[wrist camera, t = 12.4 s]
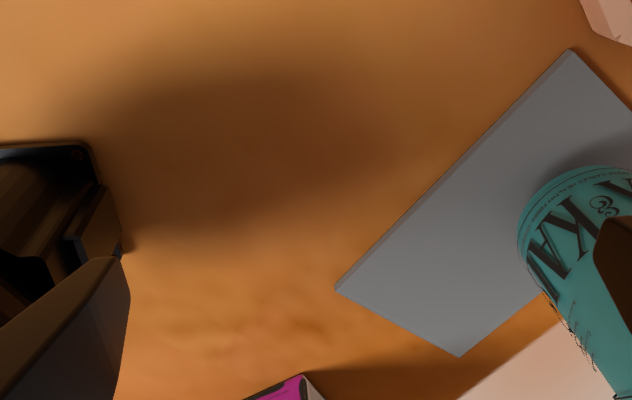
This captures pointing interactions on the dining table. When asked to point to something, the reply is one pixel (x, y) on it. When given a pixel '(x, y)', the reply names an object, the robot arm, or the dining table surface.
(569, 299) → the beverage bottle
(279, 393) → the candy bar box
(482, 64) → the dining table surface
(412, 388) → the dining table surface
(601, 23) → the pale pink ring
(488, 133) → the rubber mat
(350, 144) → the dining table surface
